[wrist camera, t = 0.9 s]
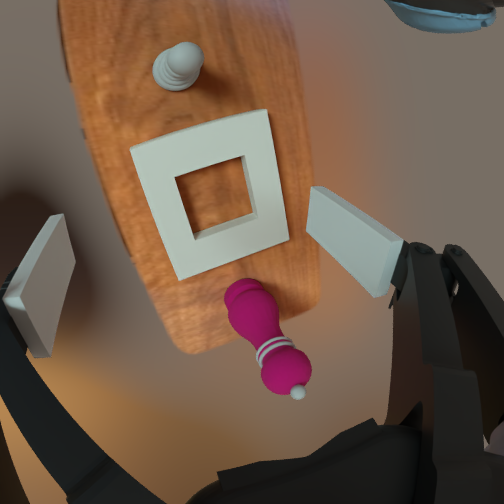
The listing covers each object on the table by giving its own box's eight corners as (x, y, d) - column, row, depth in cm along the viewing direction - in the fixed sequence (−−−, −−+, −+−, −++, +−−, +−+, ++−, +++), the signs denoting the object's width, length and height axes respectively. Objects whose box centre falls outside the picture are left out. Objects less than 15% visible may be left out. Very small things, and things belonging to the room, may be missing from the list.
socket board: (130, 147, 30) (129, 149, 29) (260, 108, 33) (266, 109, 32) (177, 272, 40) (179, 280, 38) (283, 233, 43) (289, 239, 41)
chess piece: (176, 39, 26) (187, 18, 18) (209, 67, 29) (230, 56, 21) (142, 72, 27) (141, 60, 19) (176, 100, 30) (187, 98, 22)
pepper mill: (217, 282, 43) (270, 392, 27) (264, 269, 45) (334, 367, 29) (224, 318, 47) (271, 423, 30) (266, 306, 49) (326, 401, 32)
